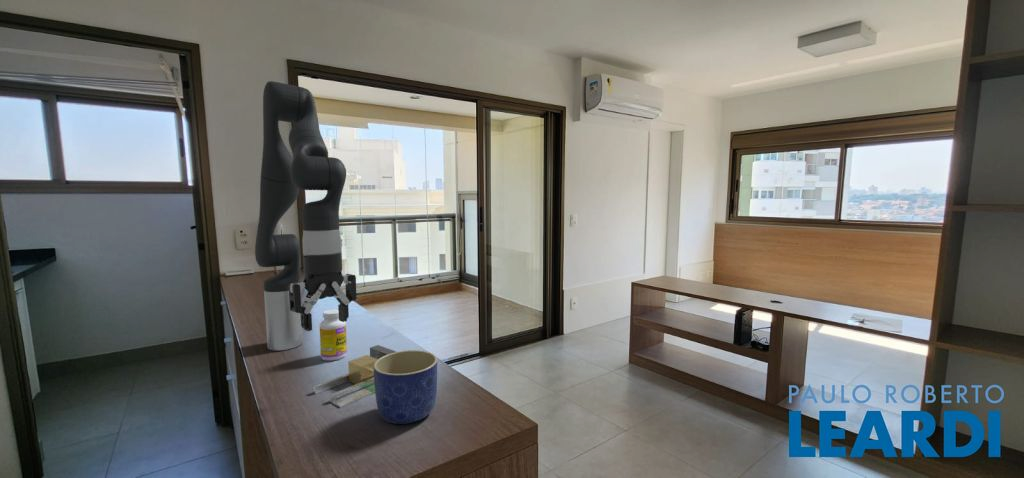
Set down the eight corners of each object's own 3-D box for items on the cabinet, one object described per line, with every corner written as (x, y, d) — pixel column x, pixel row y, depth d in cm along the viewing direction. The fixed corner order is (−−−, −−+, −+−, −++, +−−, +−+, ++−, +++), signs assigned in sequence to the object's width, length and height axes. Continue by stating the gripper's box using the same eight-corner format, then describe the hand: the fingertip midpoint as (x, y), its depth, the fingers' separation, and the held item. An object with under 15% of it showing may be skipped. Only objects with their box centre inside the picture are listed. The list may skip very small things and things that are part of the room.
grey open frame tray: (313, 392, 90) (312, 367, 89) (378, 367, 103) (378, 345, 103) (340, 407, 83) (338, 379, 83) (405, 378, 97) (405, 354, 96)
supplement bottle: (337, 362, 106) (335, 315, 105) (315, 360, 108) (313, 314, 107) (352, 353, 113) (350, 308, 112) (331, 351, 114) (329, 307, 113)
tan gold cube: (349, 380, 95) (348, 361, 95) (367, 373, 99) (366, 355, 99) (370, 391, 90) (369, 370, 90) (388, 382, 94) (388, 363, 94)
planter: (405, 437, 73) (404, 380, 72) (361, 418, 79) (359, 365, 78) (450, 408, 83) (449, 357, 82) (408, 393, 90) (407, 346, 89)
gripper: (344, 246, 93) (346, 315, 95) (279, 253, 82) (283, 330, 84) (362, 249, 89) (365, 320, 91) (296, 256, 77) (301, 338, 79)
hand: (326, 325), depth 87 cm, fingers open, 7 cm apart
